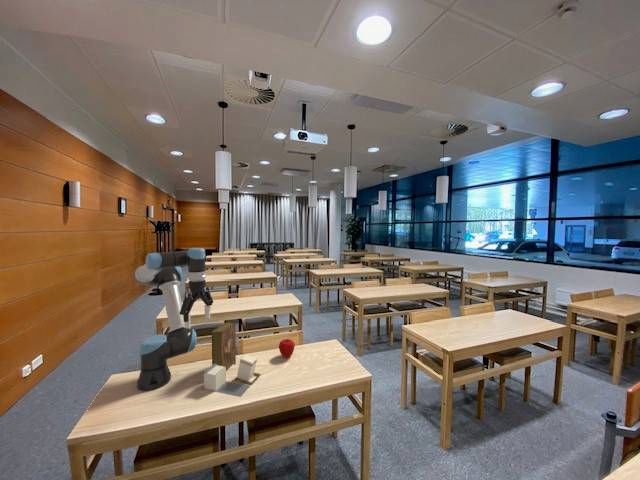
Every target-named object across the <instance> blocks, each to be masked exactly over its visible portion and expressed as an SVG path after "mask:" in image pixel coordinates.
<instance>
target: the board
mask: <svg viewBox="0 0 640 480" xmlns="http://www.w3.org/2000/svg"><path fill="white" fill-rule="evenodd" d="M250 387H251V385H250V384H248V385H247V384H245V383H240V382H238V383H237V382H232V381H228V380H226V382H225V383H224V384H223V385H222V386H221V387H220V388H219V389H218V390H217V391H214V390H209V389H204V386H203V387H202V388H201V389H202V390H205V391H206V390H207V391H210V392H215V393H220V394H225V395H230V396H235V397H239V398H241V397H242V396H243V395H244V394H245V393H246V392H247V391H248V389H249V388H250Z"/></svg>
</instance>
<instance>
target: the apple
mask: <svg viewBox="0 0 640 480" xmlns="http://www.w3.org/2000/svg"><path fill="white" fill-rule="evenodd" d="M295 346H296V345H295V342H294V340H292V339H290V338H286V339H281V341H280V342H279V345H278V350H279V352H280V355H281V356H283V357H284V358H289V357H291V356H292V355H293V353H294V350H295Z"/></svg>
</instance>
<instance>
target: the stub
mask: <svg viewBox="0 0 640 480" xmlns="http://www.w3.org/2000/svg"><path fill="white" fill-rule="evenodd" d="M257 360H258V358H256V357H255V356H252V355H249V354H247V353H246V354H244V355H243V356H241V357H240V360H239V365H238V369H237V374H236V377H237V378H238V379H239V380H244V381H249V382H250V381H251V379H252V378H253V377H254V376H255V375H254V373H255V371H256V364H257Z"/></svg>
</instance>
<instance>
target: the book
mask: <svg viewBox="0 0 640 480" xmlns="http://www.w3.org/2000/svg"><path fill="white" fill-rule="evenodd" d="M236 344H237V343H236V322H235V321H231V320H229V321H226V322H225V323H223V324H221V325H220V326H218V327H217V328H215V329H214V330H212V331H211V366H212V365H213V364H217V365H218V366H224V367H226V372H227V371H228V370H229V369H230V368H231V367H232V366H233V365H234V366H235V365H236V363H237V357H236V354H237V353H236V350H237V349H236Z"/></svg>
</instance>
